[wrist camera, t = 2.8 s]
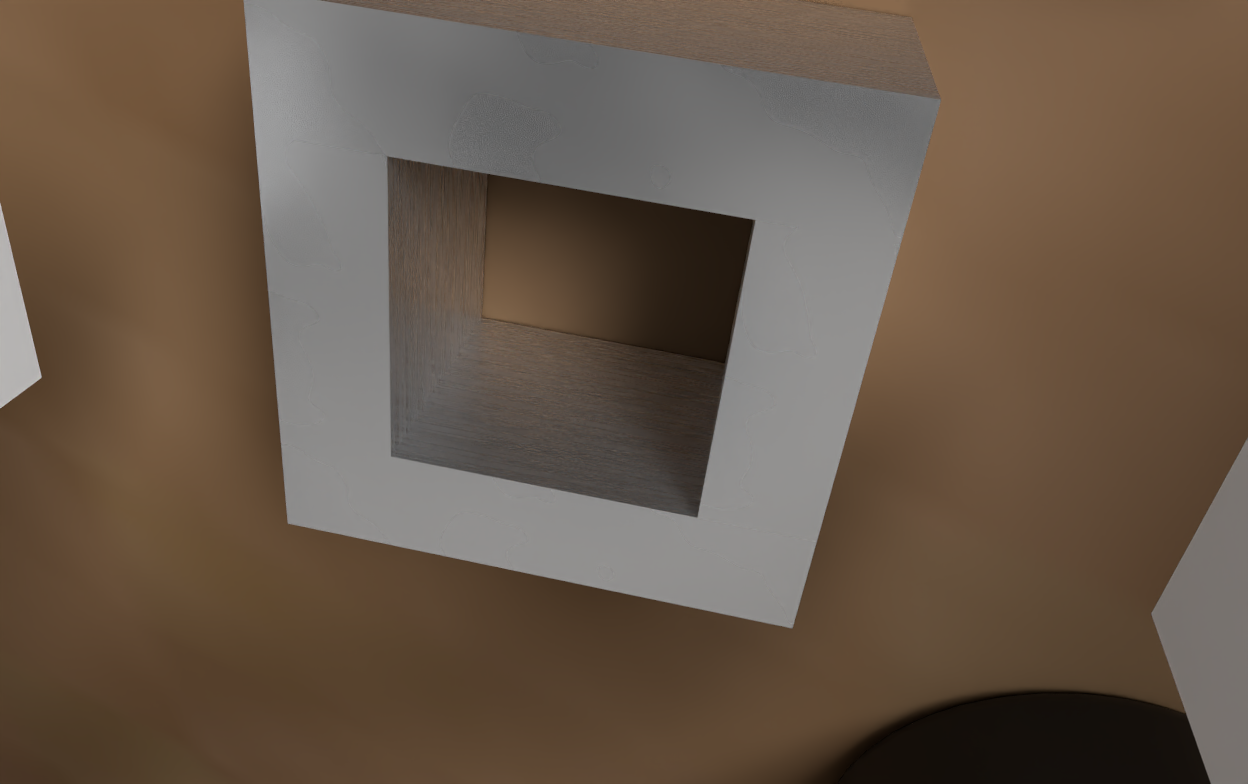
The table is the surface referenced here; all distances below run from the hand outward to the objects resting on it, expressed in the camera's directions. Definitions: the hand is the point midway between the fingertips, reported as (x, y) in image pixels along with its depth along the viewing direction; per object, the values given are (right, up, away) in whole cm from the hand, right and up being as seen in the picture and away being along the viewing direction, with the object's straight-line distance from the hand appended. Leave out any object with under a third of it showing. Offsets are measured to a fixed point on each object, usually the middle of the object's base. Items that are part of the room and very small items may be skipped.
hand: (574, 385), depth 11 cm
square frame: (0, +2, +4) cm, 5 cm away
